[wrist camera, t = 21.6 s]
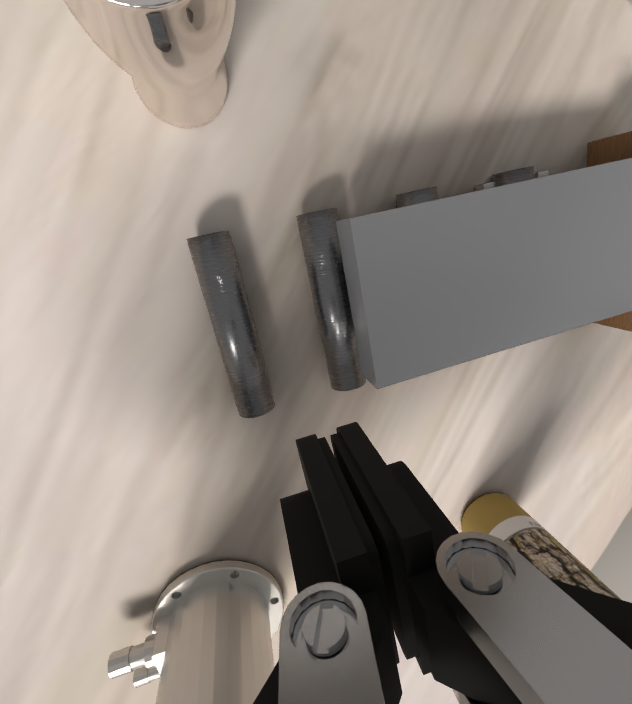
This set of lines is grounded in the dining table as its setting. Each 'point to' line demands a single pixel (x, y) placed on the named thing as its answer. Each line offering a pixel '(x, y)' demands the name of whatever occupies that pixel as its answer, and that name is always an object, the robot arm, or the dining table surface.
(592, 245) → the slab
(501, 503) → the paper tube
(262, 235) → the dining table surface
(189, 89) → the beer glass
